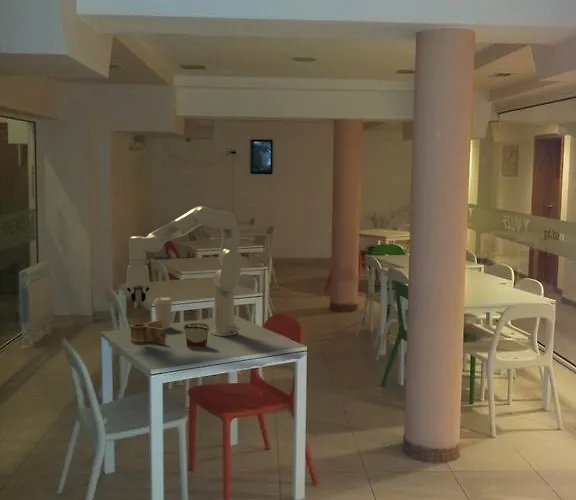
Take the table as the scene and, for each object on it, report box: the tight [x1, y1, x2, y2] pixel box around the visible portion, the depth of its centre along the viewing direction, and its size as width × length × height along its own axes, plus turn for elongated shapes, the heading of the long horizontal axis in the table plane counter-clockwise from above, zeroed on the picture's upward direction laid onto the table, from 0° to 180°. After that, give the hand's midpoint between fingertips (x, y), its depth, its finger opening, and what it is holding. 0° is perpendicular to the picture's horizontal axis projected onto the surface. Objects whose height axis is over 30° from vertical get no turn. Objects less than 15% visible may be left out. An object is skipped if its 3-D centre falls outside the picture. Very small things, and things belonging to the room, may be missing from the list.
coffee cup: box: [153, 296, 173, 330], centre depth 366 cm, size 10×10×15 cm
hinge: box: [130, 320, 166, 345], centre depth 342 cm, size 20×20×7 cm
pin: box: [133, 285, 144, 310], centre depth 338 cm, size 5×5×11 cm
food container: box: [183, 322, 210, 349], centre depth 329 cm, size 12×6×10 cm, turn 71°
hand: (138, 301), depth 338 cm, fingers closed on pin, 4 cm apart
